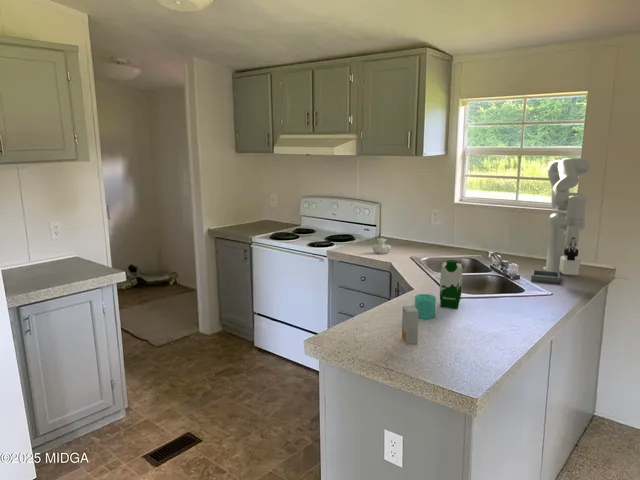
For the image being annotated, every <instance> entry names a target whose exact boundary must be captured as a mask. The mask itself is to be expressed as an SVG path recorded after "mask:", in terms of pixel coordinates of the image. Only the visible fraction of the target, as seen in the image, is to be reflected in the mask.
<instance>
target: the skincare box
mask: <svg viewBox="0 0 640 480" xmlns="http://www.w3.org/2000/svg"><path fill="white" fill-rule="evenodd" d="M401 318H402V320H401V324H402V325H401V339H402V340H403V342H404V344H405V345H417V344H418V336H419V334H418V333H419V318H418V310H417V309H416V308H415V305H403V306H402V317H401Z"/></svg>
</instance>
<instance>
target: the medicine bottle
mask: <svg viewBox="0 0 640 480" xmlns="http://www.w3.org/2000/svg"><path fill="white" fill-rule="evenodd" d="M568 252H569V248H565V249H564V256H561V257H560V267H559V270H560V271H561V272H562V273H561V274H563V275H567V276H568V275H573V276H579V275H580V270H581V269H580V268H581V259H579V258H578V257H579V249H578V248H575V252H576V253H575V260H574V261H573V260H567V255H568Z"/></svg>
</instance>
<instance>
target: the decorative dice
mask: <svg viewBox="0 0 640 480" xmlns="http://www.w3.org/2000/svg"><path fill="white" fill-rule="evenodd" d="M436 303H437V301H436V296H434V295H432V294H429V293H420V294H416V295H415V296H414V307H415V308H416V309H417V310H418V319H423V320H431V319H434V318H436V307H437V306H436Z"/></svg>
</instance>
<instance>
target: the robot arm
mask: <svg viewBox="0 0 640 480" xmlns="http://www.w3.org/2000/svg"><path fill="white" fill-rule="evenodd" d="M590 171H591V162H589V160H588V159H587V158H585V157H583V158H582V157H579V158H578V157H577V158H576V157H573V158H572V157H569V158H566V157H565V158H563V159H561V160H560V159H557V160H553V161H551V162H549V163H548V165H547V176H548V180H549V182H550V185H551V208H552V210H554V212H555V211H556V212H555V213H551V214H550V215H549V216H548V220H547V221H548V242H547V254H546V255H547V256H546V263H545V264H546V265H544V266H543V267H542V269H543V270H542V271H552V272H560V274H563V273H562V272H561V271H560V270H559V267H560V257H561V256H564V249H565V248H569V252H568V255H567V260H573V261H574V260H575V253H576V252H575V248H576V247H578V243H579V237H580V232H582V231H584V229H585V227H586V205H587V196H586V195H585V193H582V192H570V189H572V188H575V187H576V186H577V185H578V184H579V182H580V177H584V176H587V175H588V174H589V173H590ZM564 232H565V233H564ZM576 249H577V248H576Z"/></svg>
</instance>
